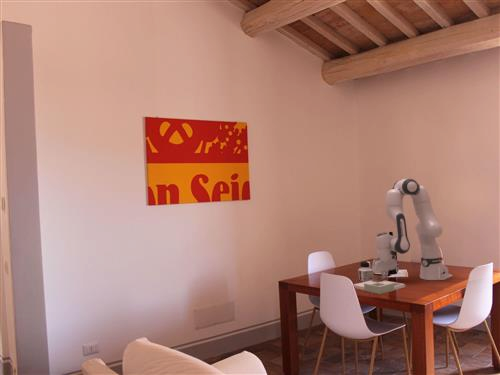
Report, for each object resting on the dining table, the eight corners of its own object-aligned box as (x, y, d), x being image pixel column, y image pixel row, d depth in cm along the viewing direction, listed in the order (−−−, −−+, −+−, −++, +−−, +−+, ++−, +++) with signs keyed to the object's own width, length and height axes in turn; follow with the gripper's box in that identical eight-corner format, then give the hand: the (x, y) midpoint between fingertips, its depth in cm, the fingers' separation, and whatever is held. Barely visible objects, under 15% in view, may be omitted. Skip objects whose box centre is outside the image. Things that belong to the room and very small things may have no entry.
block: (377, 280, 307) (377, 275, 307) (383, 281, 303) (382, 276, 303) (372, 281, 305) (371, 276, 305) (377, 282, 301) (377, 277, 301)
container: (363, 281, 313) (362, 262, 314) (358, 279, 321) (357, 261, 321) (374, 280, 315) (372, 261, 315) (369, 278, 323) (367, 260, 323)
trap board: (377, 282, 310) (376, 275, 310) (406, 287, 290) (406, 280, 290) (351, 288, 297) (350, 281, 297) (380, 294, 277) (379, 286, 277)
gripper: (376, 259, 300) (377, 280, 300) (397, 255, 311) (398, 276, 311) (369, 258, 305) (370, 279, 305) (390, 254, 316) (391, 274, 316)
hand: (384, 277), depth 308 cm, fingers closed
